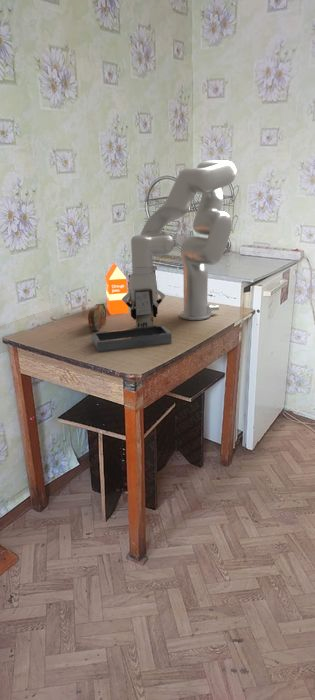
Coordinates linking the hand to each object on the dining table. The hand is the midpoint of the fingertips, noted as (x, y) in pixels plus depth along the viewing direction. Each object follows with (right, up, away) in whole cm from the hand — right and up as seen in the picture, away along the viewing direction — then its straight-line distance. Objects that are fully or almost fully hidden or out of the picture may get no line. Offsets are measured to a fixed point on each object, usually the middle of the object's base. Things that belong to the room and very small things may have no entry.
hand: (144, 317), depth 193 cm
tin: (-18, -4, +7) cm, 20 cm away
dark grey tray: (-4, -10, -11) cm, 15 cm away
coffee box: (0, -5, +2) cm, 5 cm away
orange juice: (-12, +4, +27) cm, 30 cm away
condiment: (-5, +10, +42) cm, 44 cm away
